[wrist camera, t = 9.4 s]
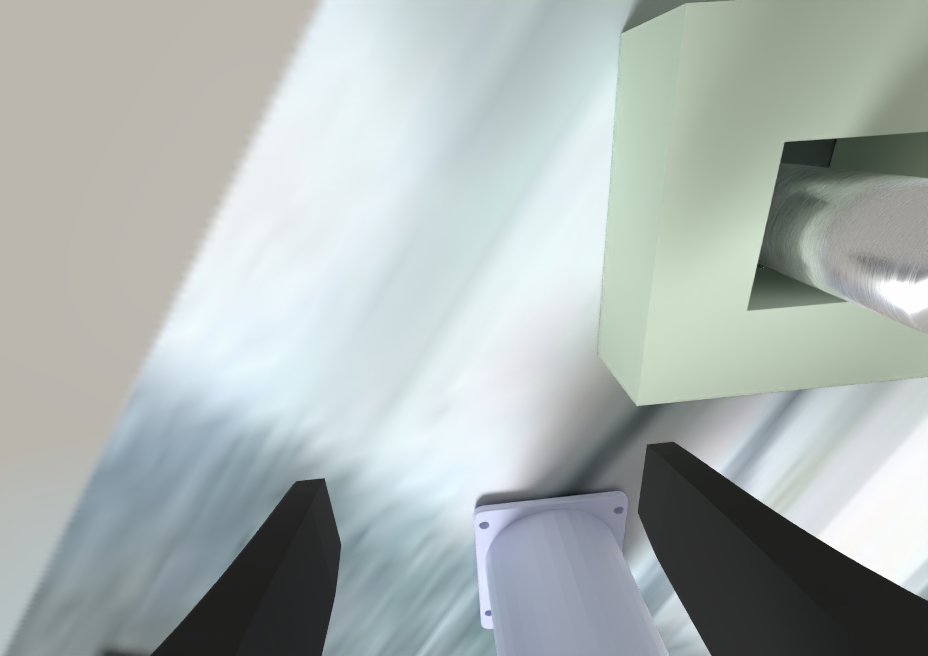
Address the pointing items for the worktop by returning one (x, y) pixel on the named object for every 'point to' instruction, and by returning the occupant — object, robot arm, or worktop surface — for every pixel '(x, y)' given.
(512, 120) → the worktop surface
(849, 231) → the long pin
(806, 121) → the hole block
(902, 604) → the robot arm
